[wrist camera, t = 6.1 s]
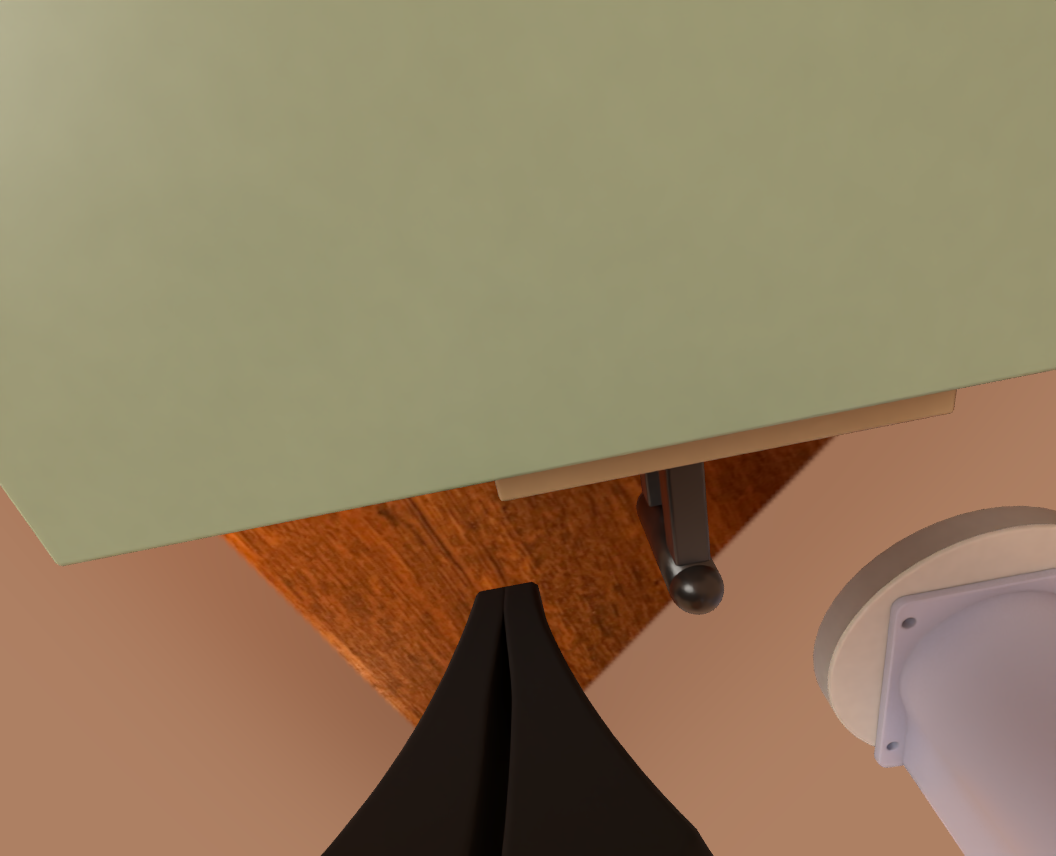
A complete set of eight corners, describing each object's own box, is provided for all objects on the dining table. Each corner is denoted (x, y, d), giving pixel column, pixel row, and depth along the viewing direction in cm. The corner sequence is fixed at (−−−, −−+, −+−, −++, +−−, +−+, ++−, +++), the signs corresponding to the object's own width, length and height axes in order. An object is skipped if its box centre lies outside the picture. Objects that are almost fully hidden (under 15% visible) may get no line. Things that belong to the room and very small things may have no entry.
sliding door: (761, 473, 17) (918, 658, 11) (534, 517, 17) (557, 724, 11) (758, 283, 15) (961, 377, 8) (492, 338, 15) (491, 471, 8)
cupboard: (779, 308, 16) (1067, 458, 8) (297, 408, 16) (109, 643, 8) (778, -266, 11) (1548, -1426, 3) (89, -98, 11) (-852, -699, 3)
